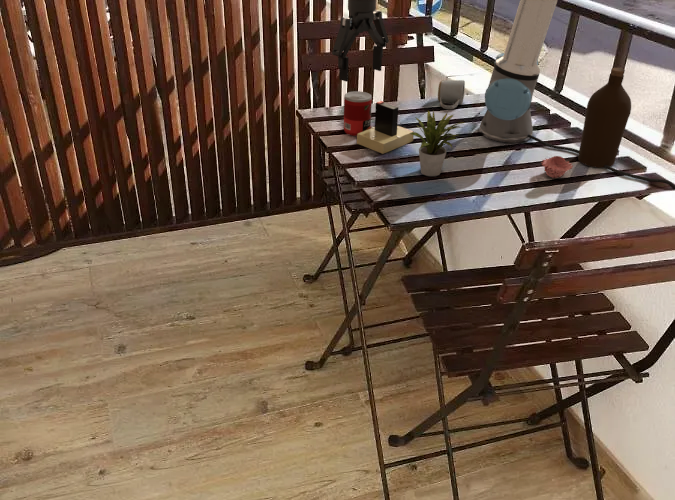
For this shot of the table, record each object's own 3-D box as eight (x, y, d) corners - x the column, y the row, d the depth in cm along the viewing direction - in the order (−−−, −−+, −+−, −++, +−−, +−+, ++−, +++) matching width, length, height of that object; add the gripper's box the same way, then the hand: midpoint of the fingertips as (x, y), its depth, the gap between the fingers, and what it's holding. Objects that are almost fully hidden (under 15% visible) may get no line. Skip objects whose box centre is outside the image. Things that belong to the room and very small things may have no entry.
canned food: (368, 137, 188) (369, 101, 182) (341, 135, 189) (341, 98, 183) (372, 128, 194) (373, 92, 188) (346, 125, 195) (346, 90, 189)
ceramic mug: (438, 98, 217) (440, 75, 213) (463, 100, 215) (466, 77, 211) (435, 109, 208) (437, 86, 204) (460, 111, 207) (463, 88, 202)
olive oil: (587, 170, 170) (610, 76, 157) (568, 154, 179) (588, 64, 166) (624, 167, 172) (649, 74, 159) (603, 151, 181) (625, 62, 167)
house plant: (445, 191, 160) (452, 128, 151) (394, 178, 165) (398, 117, 156) (465, 169, 170) (473, 110, 161) (417, 158, 176) (421, 100, 167)
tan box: (383, 154, 178) (384, 143, 176) (355, 143, 184) (356, 132, 182) (414, 141, 186) (414, 131, 184) (386, 131, 192) (386, 121, 190)
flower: (552, 167, 172) (556, 148, 169) (576, 178, 166) (581, 158, 163) (531, 174, 168) (535, 154, 165) (556, 186, 162) (560, 166, 159)
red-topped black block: (396, 134, 182) (398, 106, 178) (391, 136, 181) (393, 108, 176) (379, 128, 186) (381, 100, 181) (374, 130, 185) (375, 102, 180)
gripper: (338, 4, 161) (338, 88, 173) (403, -10, 176) (399, 68, 188) (318, 0, 166) (319, 81, 177) (382, -13, 181) (380, 63, 192)
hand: (360, 75), depth 182 cm, fingers open, 13 cm apart
